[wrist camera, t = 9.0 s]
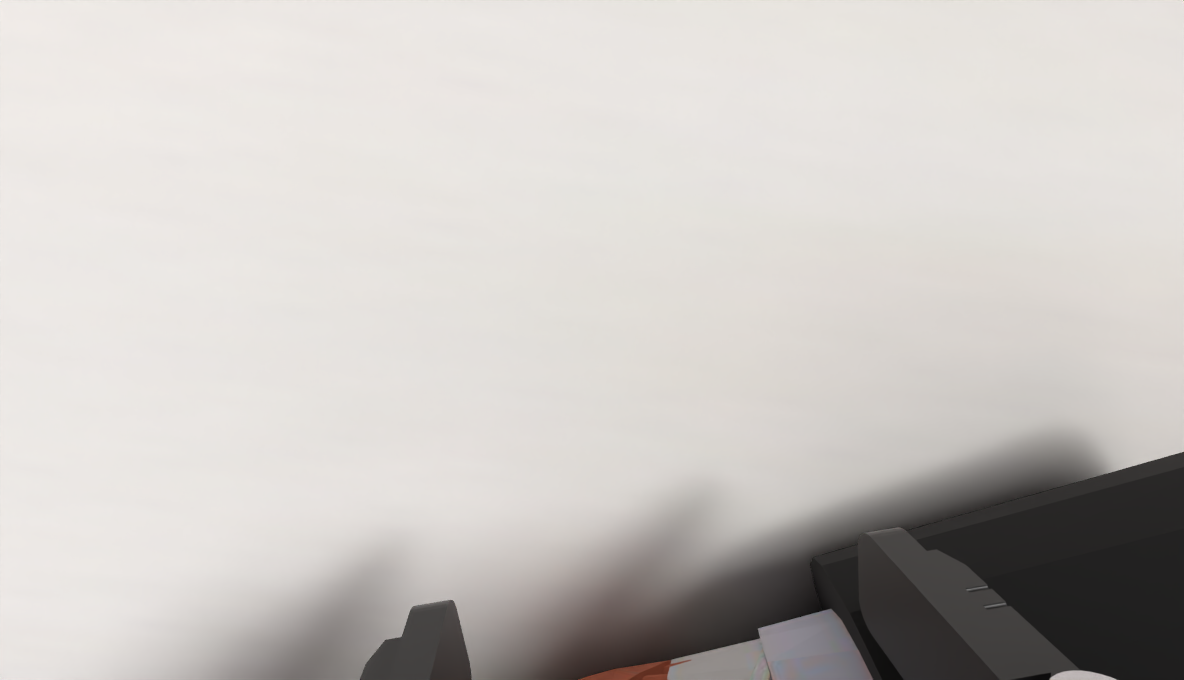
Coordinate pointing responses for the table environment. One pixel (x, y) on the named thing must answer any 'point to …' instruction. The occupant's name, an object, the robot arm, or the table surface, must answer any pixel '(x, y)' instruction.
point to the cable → (1006, 587)
